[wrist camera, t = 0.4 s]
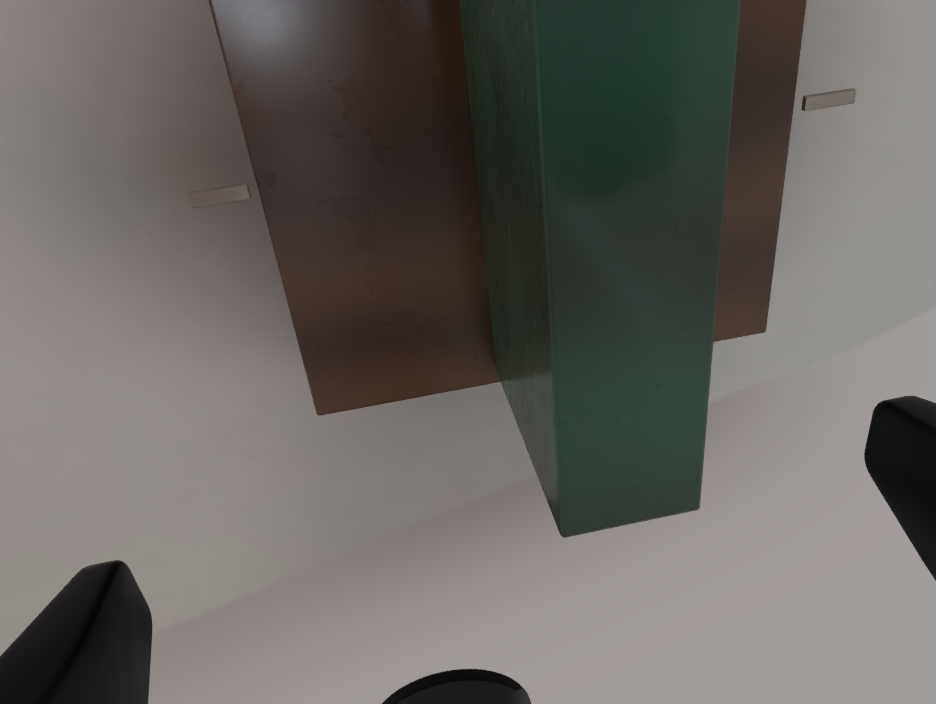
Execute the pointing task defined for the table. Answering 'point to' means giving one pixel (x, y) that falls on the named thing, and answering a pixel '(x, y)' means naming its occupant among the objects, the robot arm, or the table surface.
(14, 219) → the table surface
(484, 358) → the brown wooden square board
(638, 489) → the book
